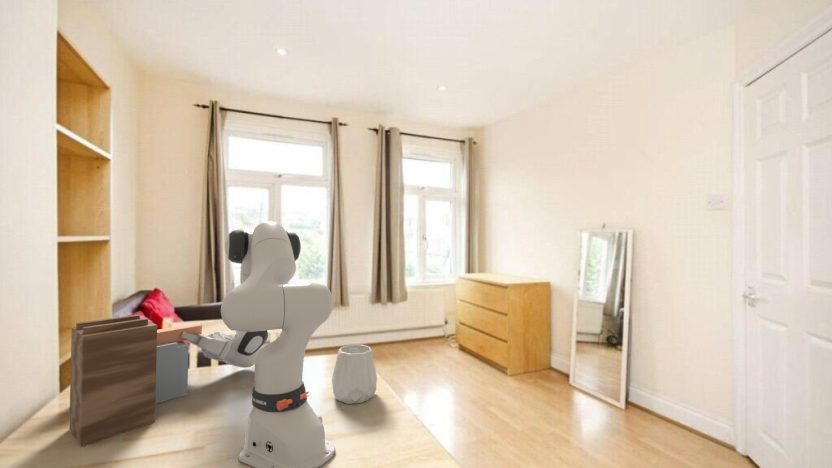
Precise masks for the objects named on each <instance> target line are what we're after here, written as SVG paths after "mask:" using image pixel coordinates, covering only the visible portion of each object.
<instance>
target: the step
mask: <svg viewBox="0 0 832 468" xmlns="http://www.w3.org/2000/svg"><path fill="white" fill-rule="evenodd" d="M189 347H190V346H189V344H187V343H186V342H184V341H180V342H175V343H169V344H164V345H159V346H157V357H156V401H155V405H156V404H159V403H162V402H165V401H169V400H173V399H175V398H179V397H183V396H186V395H188V389H189V386H188V385H189V382H188V379H189Z"/></svg>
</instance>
